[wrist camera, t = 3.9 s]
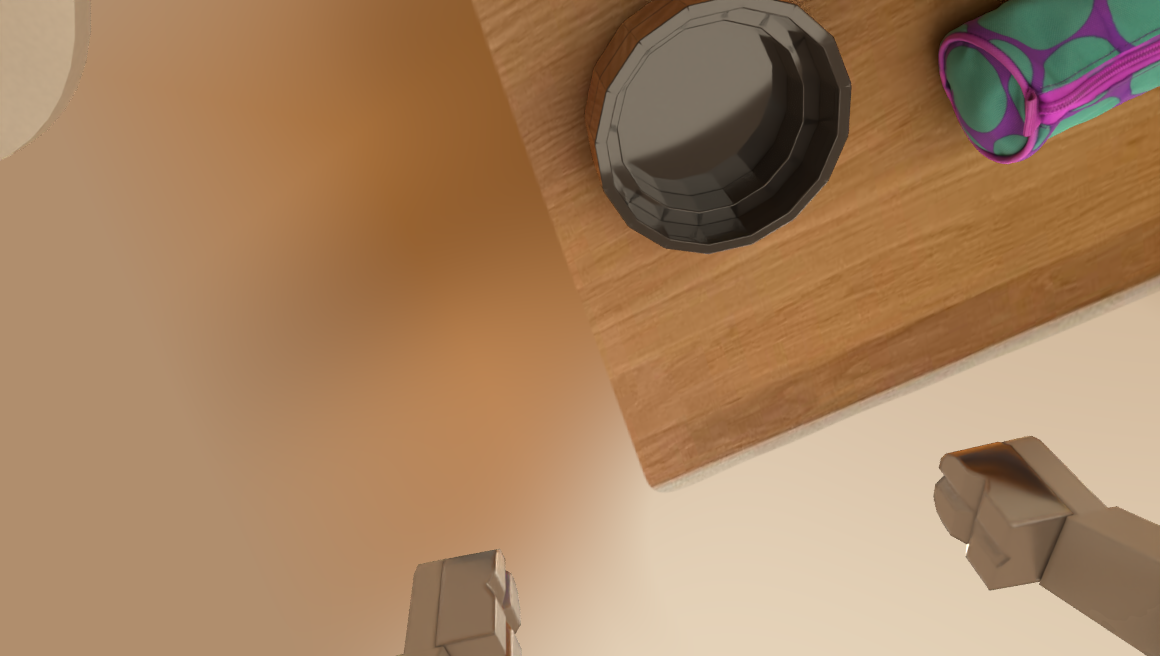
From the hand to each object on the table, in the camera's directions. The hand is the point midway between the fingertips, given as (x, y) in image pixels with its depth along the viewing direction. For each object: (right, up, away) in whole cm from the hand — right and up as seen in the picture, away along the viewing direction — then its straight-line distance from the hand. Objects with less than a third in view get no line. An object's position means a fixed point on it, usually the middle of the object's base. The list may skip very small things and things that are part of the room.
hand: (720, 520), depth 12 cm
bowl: (+5, +18, +29) cm, 34 cm away
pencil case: (+29, +24, +28) cm, 47 cm away
